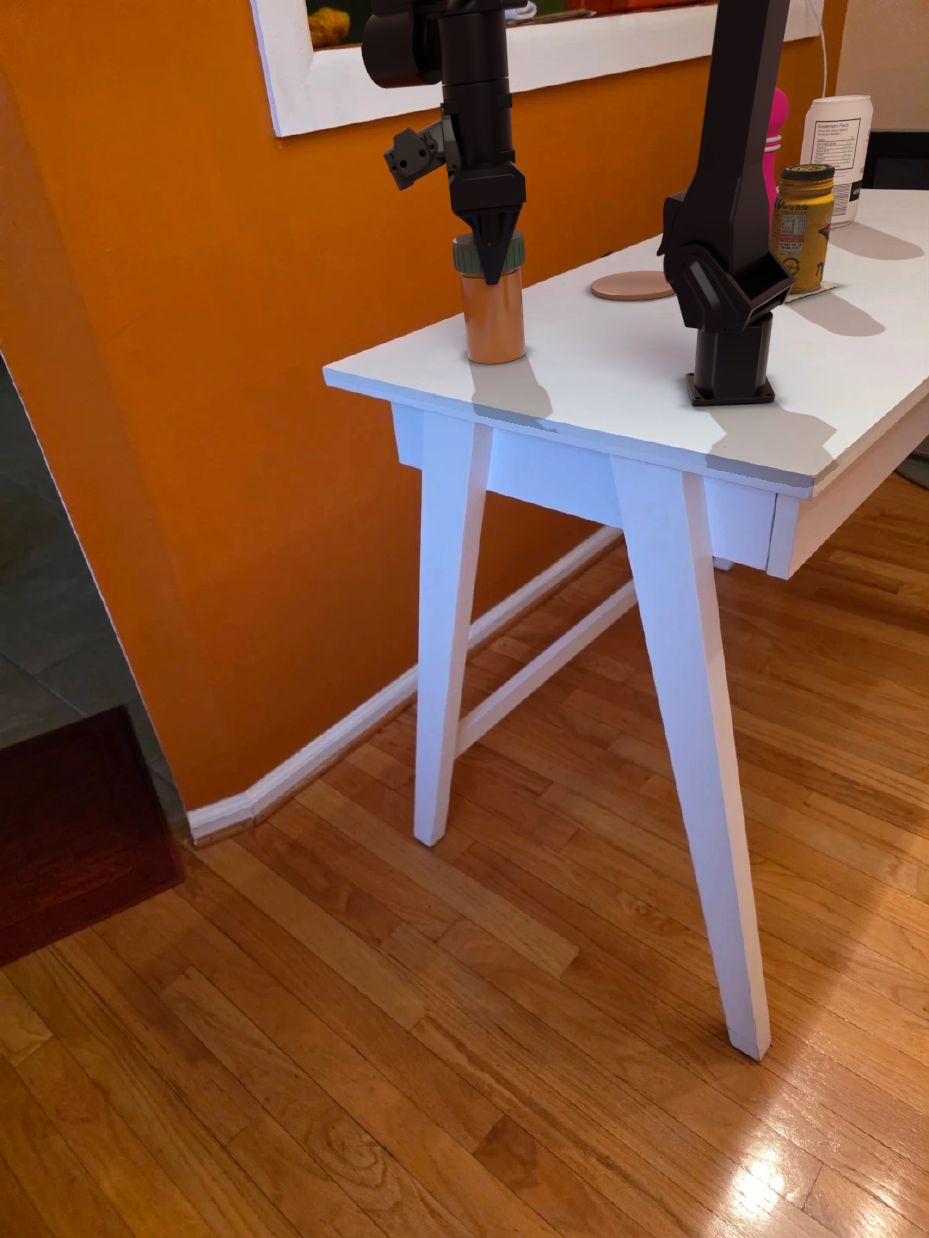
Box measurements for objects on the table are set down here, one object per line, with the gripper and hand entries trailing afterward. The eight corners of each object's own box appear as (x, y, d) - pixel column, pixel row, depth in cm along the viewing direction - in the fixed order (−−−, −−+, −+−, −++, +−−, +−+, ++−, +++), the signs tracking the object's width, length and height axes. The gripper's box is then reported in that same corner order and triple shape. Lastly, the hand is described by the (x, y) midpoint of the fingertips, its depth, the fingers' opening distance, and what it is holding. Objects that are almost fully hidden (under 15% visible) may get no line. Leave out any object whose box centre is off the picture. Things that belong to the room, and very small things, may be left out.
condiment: (838, 286, 91) (858, 163, 84) (787, 303, 87) (803, 177, 80) (784, 276, 96) (798, 160, 89) (733, 292, 92) (744, 173, 85)
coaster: (689, 297, 93) (689, 291, 92) (590, 303, 94) (590, 297, 94) (680, 273, 102) (681, 268, 101) (591, 279, 103) (591, 274, 103)
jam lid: (519, 253, 81) (517, 226, 79) (530, 268, 75) (529, 239, 74) (451, 262, 80) (448, 235, 79) (458, 278, 75) (455, 248, 73)
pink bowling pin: (789, 259, 102) (814, 66, 90) (740, 269, 100) (759, 74, 89) (752, 250, 107) (770, 67, 96) (705, 259, 106) (718, 74, 94)
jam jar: (527, 360, 80) (521, 248, 74) (468, 366, 80) (457, 256, 75) (523, 342, 85) (517, 236, 79) (467, 348, 85) (457, 243, 79)
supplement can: (780, 224, 118) (794, 102, 109) (824, 214, 120) (841, 94, 112) (822, 232, 112) (841, 103, 103) (868, 221, 114) (890, 95, 106)
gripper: (386, 88, 77) (409, 264, 86) (374, 99, 62) (403, 311, 71) (503, 74, 77) (514, 252, 86) (521, 82, 62) (531, 297, 71)
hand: (490, 276), depth 78 cm, fingers closed on jam lid, 6 cm apart
